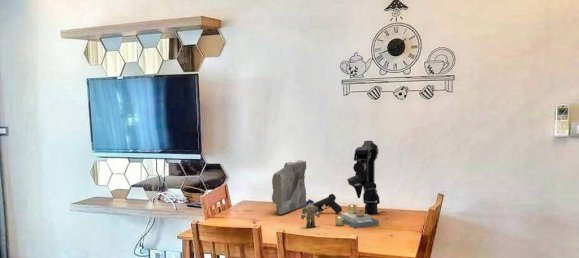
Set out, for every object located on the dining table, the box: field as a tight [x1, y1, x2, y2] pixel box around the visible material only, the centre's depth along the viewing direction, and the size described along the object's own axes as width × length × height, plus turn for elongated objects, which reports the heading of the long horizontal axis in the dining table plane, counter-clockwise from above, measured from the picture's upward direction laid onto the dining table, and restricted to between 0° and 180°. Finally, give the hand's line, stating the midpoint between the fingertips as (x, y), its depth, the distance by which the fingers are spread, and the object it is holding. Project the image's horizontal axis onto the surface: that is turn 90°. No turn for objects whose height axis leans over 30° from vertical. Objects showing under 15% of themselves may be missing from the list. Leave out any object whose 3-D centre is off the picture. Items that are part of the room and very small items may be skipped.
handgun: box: [313, 193, 343, 215], centre depth 276 cm, size 2×17×12 cm, turn 78°
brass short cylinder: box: [348, 204, 358, 214], centre depth 257 cm, size 4×4×4 cm
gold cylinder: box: [335, 215, 345, 227], centre depth 247 cm, size 4×4×4 cm
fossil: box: [271, 159, 307, 215], centre depth 287 cm, size 34×9×30 cm, turn 153°
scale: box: [340, 211, 380, 229], centre depth 252 cm, size 15×19×4 cm
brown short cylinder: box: [356, 209, 365, 217], centre depth 249 cm, size 4×4×3 cm
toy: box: [300, 199, 321, 229], centre depth 244 cm, size 10×4×15 cm, turn 114°
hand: (363, 199), depth 250 cm, fingers open, 9 cm apart
